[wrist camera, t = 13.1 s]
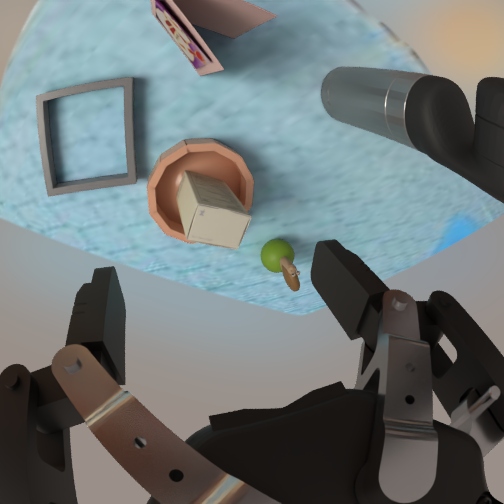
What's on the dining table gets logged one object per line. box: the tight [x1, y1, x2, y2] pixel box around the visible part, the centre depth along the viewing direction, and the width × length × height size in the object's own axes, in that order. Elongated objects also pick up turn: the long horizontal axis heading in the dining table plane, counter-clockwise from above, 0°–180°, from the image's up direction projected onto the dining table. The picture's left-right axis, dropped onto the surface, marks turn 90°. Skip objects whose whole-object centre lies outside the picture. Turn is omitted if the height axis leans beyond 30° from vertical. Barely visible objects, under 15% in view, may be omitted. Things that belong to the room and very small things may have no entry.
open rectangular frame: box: [36, 77, 137, 197], centre depth 30 cm, size 13×14×2 cm
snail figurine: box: [261, 239, 300, 291], centre depth 44 cm, size 5×6×12 cm
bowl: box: [147, 138, 254, 243], centre depth 38 cm, size 14×14×4 cm
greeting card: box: [151, 0, 277, 76], centre depth 22 cm, size 11×7×15 cm, turn 32°
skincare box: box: [176, 170, 252, 249], centre depth 35 cm, size 6×4×12 cm
